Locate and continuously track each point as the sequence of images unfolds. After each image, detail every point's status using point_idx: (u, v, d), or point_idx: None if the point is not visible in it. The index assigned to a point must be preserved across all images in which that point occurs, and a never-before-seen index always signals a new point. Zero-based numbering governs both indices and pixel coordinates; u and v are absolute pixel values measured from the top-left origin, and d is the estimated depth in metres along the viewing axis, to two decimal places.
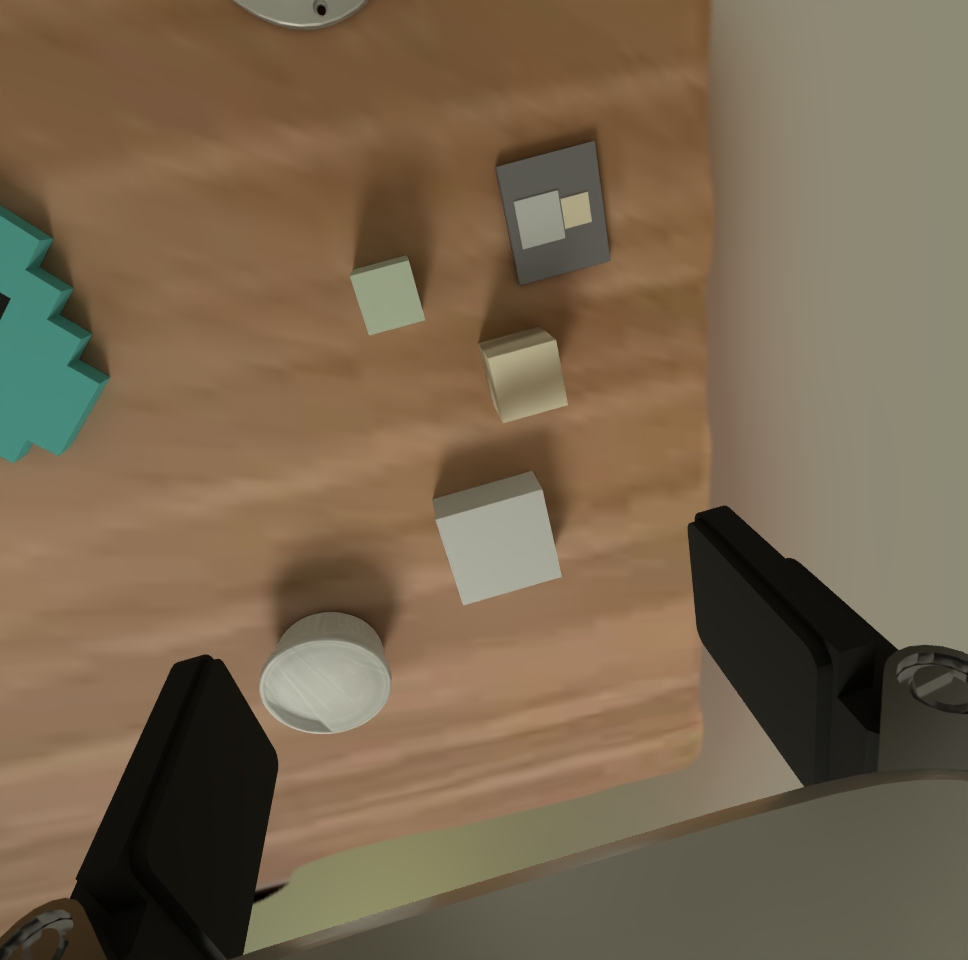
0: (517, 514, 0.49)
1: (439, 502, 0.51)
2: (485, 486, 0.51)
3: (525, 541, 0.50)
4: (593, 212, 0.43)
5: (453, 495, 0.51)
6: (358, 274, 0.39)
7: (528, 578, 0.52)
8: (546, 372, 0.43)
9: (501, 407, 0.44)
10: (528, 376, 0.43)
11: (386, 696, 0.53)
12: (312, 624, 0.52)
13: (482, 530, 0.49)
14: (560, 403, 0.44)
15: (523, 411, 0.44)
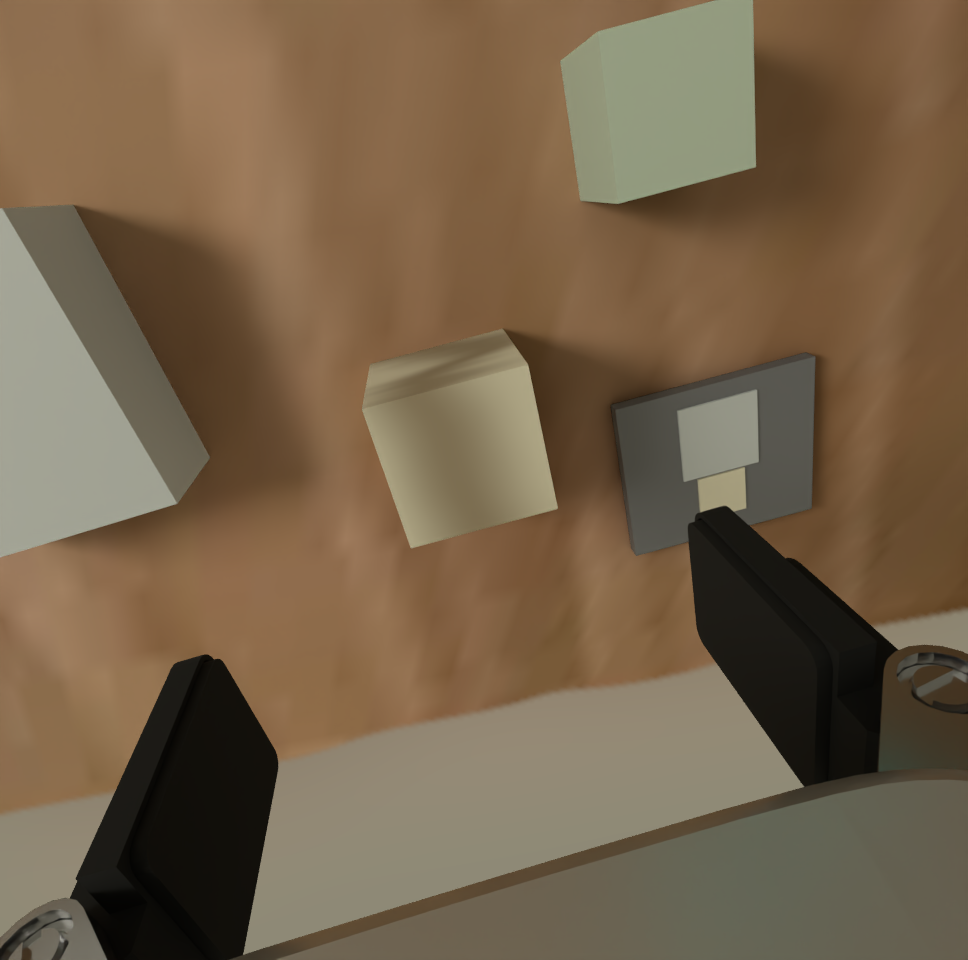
0: (85, 452, 0.18)
1: (68, 223, 0.18)
2: (145, 351, 0.20)
3: (3, 480, 0.18)
4: None
5: (100, 266, 0.19)
6: (750, 19, 0.15)
7: None
8: (486, 497, 0.19)
9: (404, 402, 0.17)
10: (479, 460, 0.18)
11: None
12: None
13: (3, 359, 0.17)
14: (414, 533, 0.19)
15: (393, 454, 0.18)
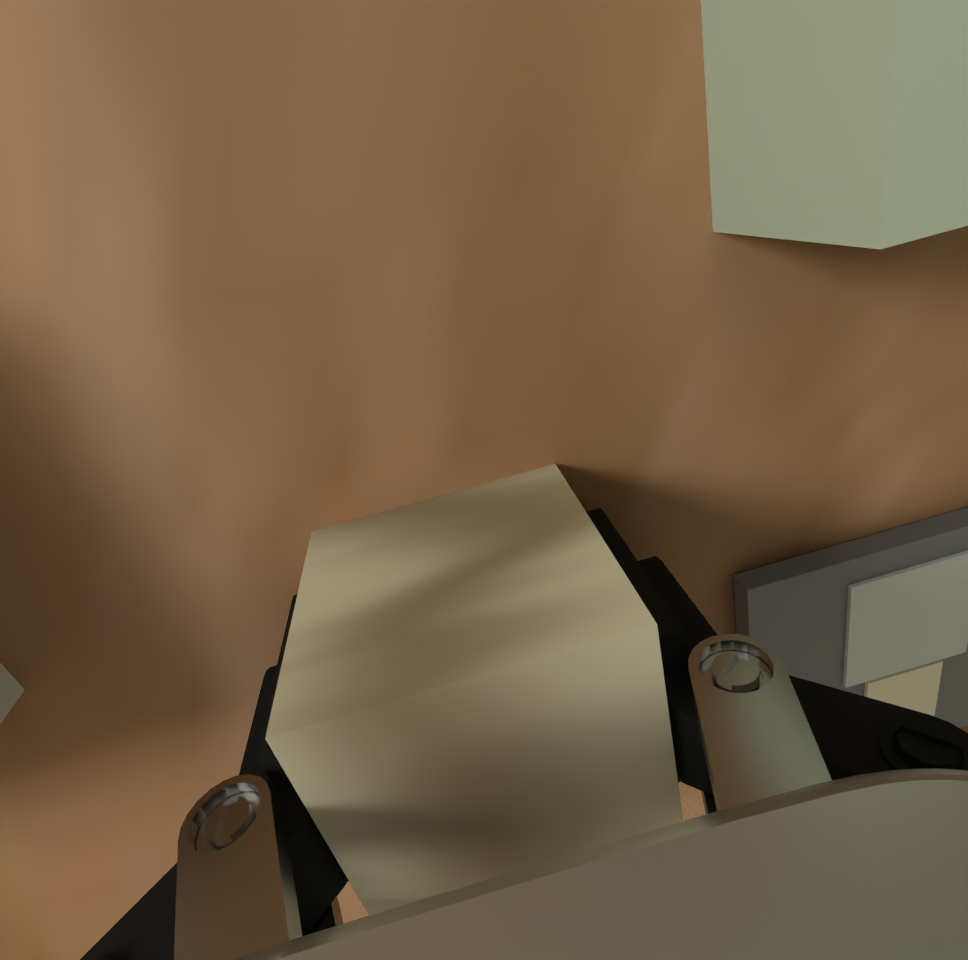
0: None
1: None
2: None
3: None
4: None
5: None
6: None
7: None
8: (547, 857, 0.09)
9: (367, 716, 0.07)
10: (535, 801, 0.08)
11: None
12: None
13: None
14: None
15: (346, 810, 0.08)
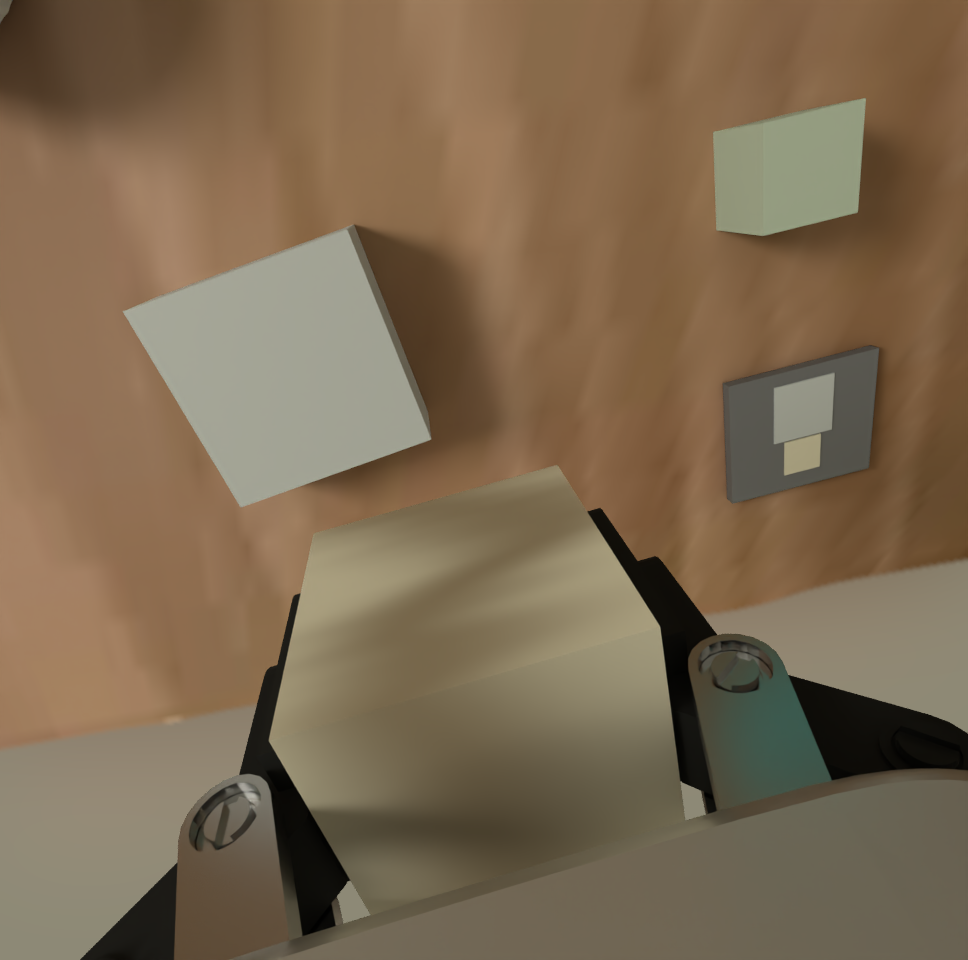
0: (374, 402, 0.25)
1: (357, 238, 0.25)
2: (394, 330, 0.27)
3: (315, 425, 0.25)
4: (793, 475, 0.33)
5: (370, 268, 0.26)
6: (862, 115, 0.23)
7: (225, 445, 0.25)
8: (550, 858, 0.09)
9: (370, 719, 0.07)
10: (538, 803, 0.08)
11: None
12: None
13: (330, 335, 0.24)
14: None
15: (349, 812, 0.08)
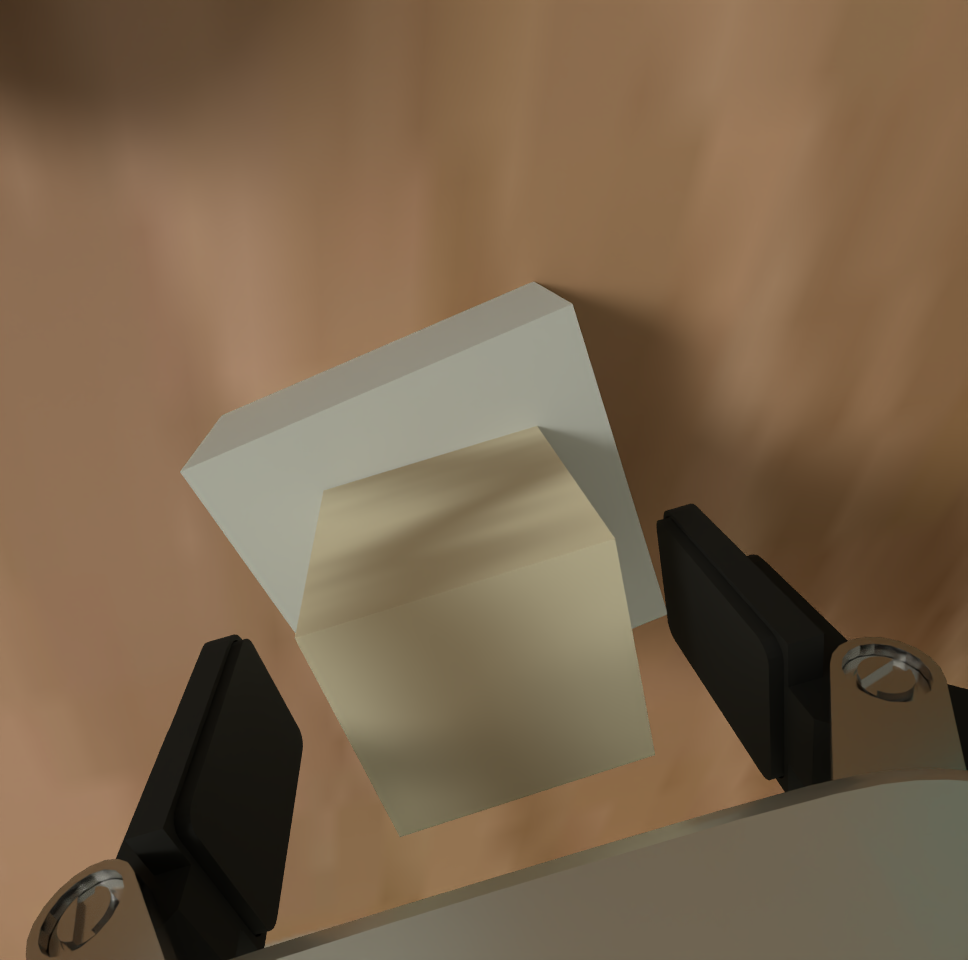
0: None
1: None
2: None
3: None
4: None
5: None
6: None
7: None
8: (533, 751, 0.11)
9: (378, 620, 0.09)
10: (520, 698, 0.10)
11: None
12: None
13: None
14: (406, 815, 0.11)
15: (361, 704, 0.10)
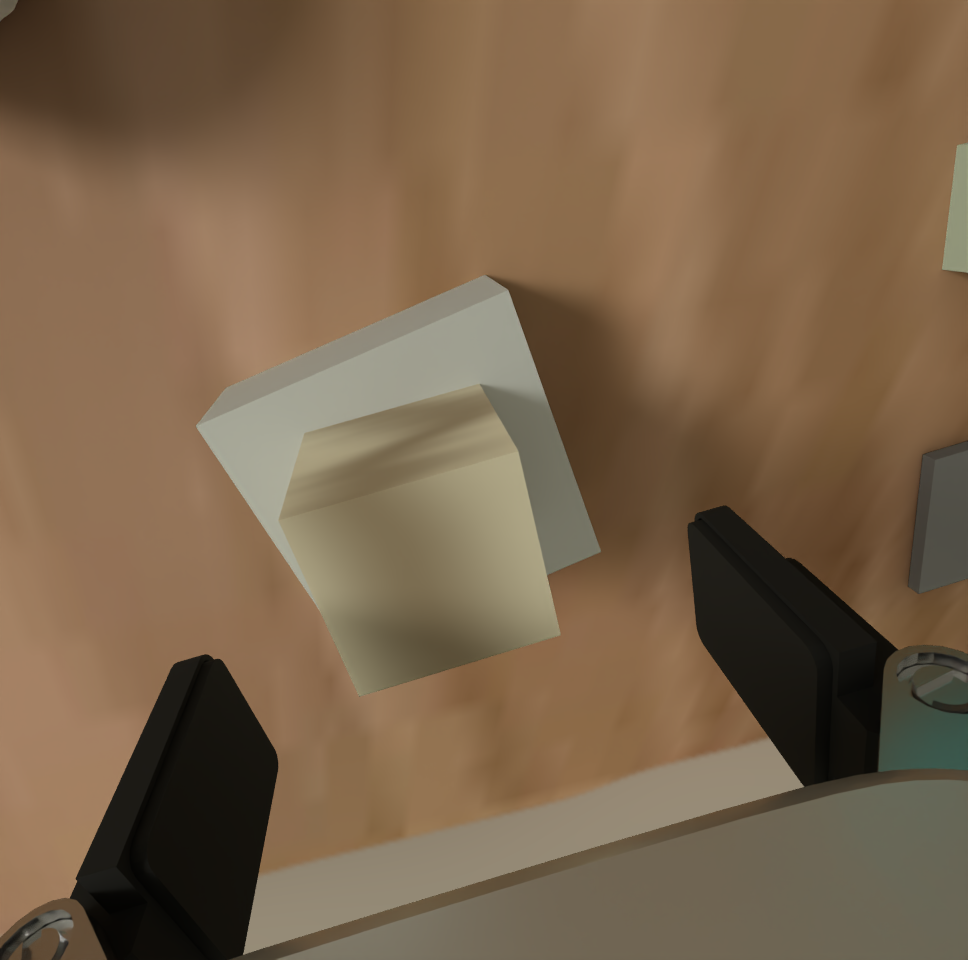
0: None
1: None
2: None
3: None
4: None
5: None
6: None
7: None
8: (463, 626, 0.14)
9: (341, 508, 0.12)
10: (451, 580, 0.13)
11: None
12: None
13: None
14: (363, 677, 0.14)
15: (328, 578, 0.13)
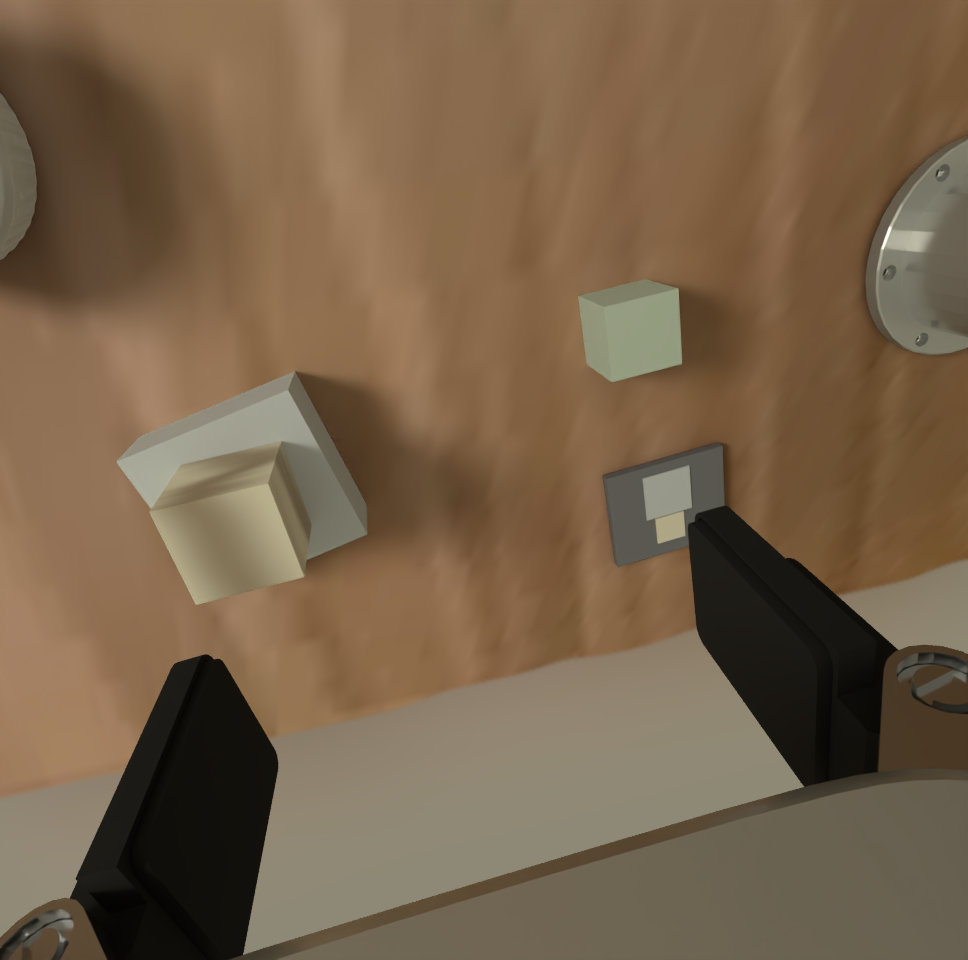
0: (319, 510, 0.32)
1: (298, 384, 0.32)
2: (333, 447, 0.34)
3: None
4: (665, 543, 0.41)
5: (310, 403, 0.33)
6: (677, 299, 0.31)
7: None
8: (249, 569, 0.27)
9: (180, 507, 0.25)
10: (240, 545, 0.26)
11: None
12: (10, 129, 0.24)
13: None
14: (197, 594, 0.27)
15: (176, 541, 0.26)
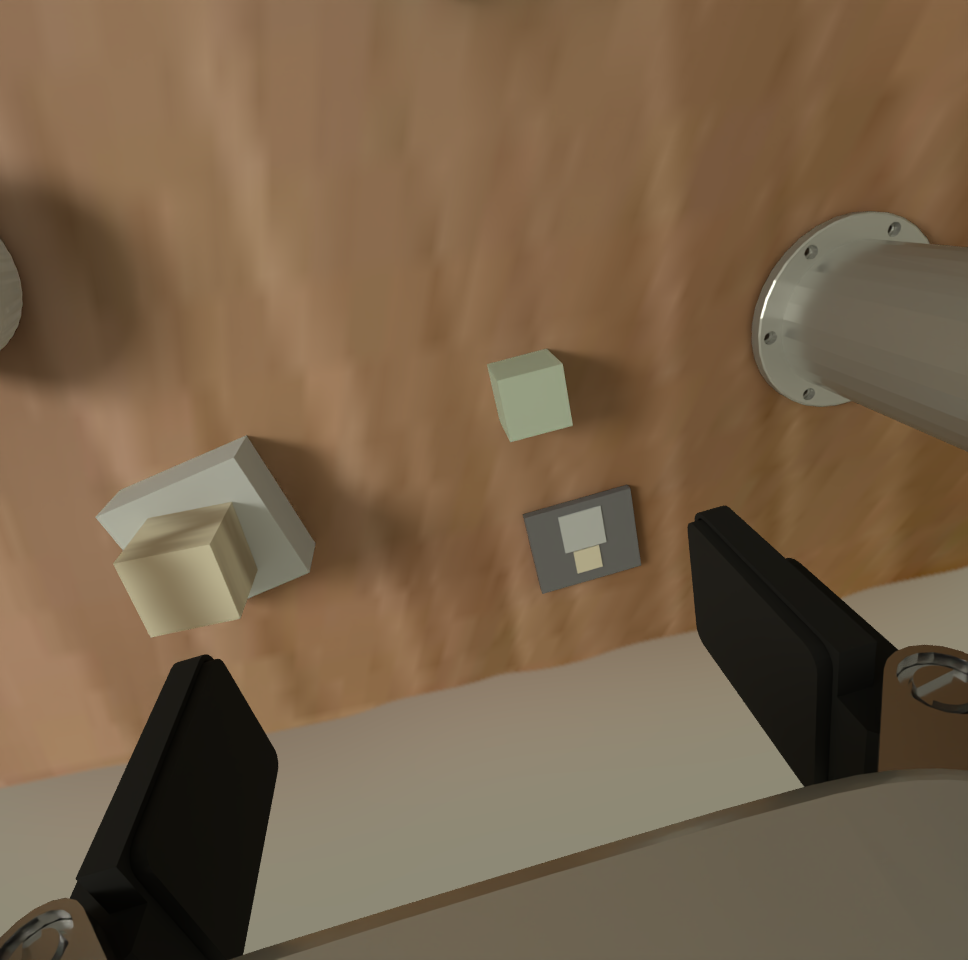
0: (266, 553, 0.38)
1: (248, 447, 0.38)
2: (282, 496, 0.40)
3: None
4: (584, 572, 0.46)
5: (260, 461, 0.39)
6: (563, 372, 0.35)
7: None
8: (195, 611, 0.33)
9: (138, 561, 0.31)
10: (187, 591, 0.32)
11: None
12: None
13: None
14: (152, 629, 0.33)
15: (134, 586, 0.32)
